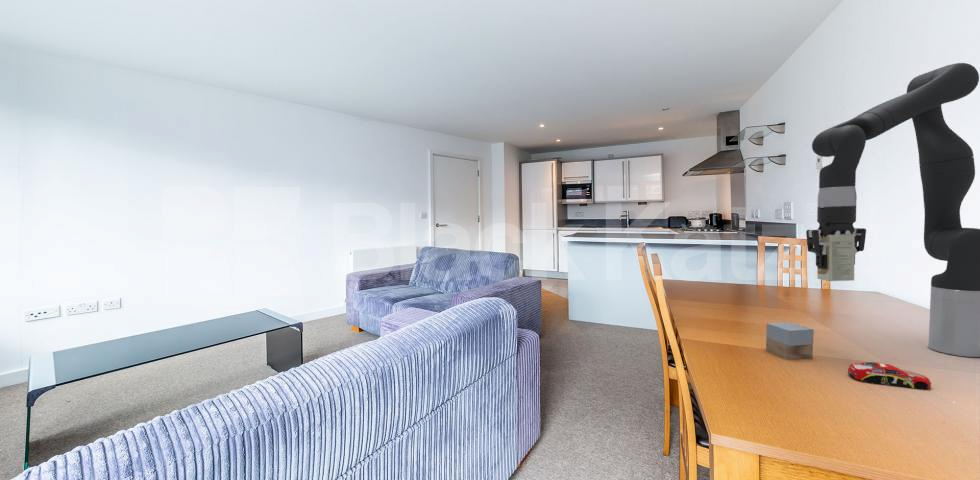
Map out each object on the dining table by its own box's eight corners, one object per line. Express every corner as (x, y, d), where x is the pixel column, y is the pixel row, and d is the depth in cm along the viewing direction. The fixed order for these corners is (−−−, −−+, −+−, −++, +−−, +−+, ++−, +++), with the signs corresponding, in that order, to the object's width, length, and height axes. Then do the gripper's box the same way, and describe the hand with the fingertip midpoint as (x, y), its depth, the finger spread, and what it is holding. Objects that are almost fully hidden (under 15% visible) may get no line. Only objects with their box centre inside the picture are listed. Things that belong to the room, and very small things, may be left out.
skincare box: (841, 278, 101) (842, 233, 101) (855, 281, 97) (856, 234, 96) (815, 278, 102) (816, 233, 101) (828, 281, 98) (829, 234, 97)
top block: (789, 336, 105) (789, 322, 105) (813, 344, 99) (813, 329, 98) (766, 337, 105) (766, 323, 105) (788, 345, 98) (789, 330, 98)
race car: (922, 383, 84) (923, 365, 84) (937, 393, 79) (938, 375, 79) (844, 373, 90) (845, 356, 90) (854, 382, 85) (855, 365, 85)
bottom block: (790, 350, 106) (791, 336, 105) (812, 359, 99) (812, 344, 98) (766, 350, 105) (766, 336, 105) (786, 360, 98) (786, 345, 98)
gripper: (849, 204, 102) (848, 265, 103) (797, 206, 102) (796, 267, 103) (878, 203, 95) (876, 269, 96) (821, 205, 95) (820, 271, 96)
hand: (835, 268), depth 99 cm, fingers closed on skincare box, 6 cm apart
